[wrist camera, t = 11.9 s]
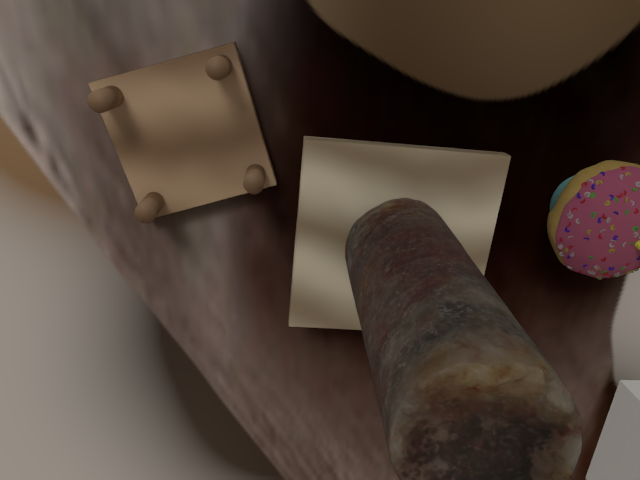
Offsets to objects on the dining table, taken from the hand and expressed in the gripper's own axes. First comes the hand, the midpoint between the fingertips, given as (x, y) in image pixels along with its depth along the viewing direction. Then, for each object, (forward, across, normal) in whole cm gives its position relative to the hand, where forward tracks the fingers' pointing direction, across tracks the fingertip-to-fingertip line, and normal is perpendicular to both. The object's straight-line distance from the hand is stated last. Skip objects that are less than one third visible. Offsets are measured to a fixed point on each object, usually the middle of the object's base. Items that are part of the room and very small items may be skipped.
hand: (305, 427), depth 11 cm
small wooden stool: (+29, +8, -7) cm, 31 cm away
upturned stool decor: (+30, -7, 0) cm, 31 cm away
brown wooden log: (+26, +8, -7) cm, 28 cm away
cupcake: (+30, +23, -4) cm, 38 cm away
